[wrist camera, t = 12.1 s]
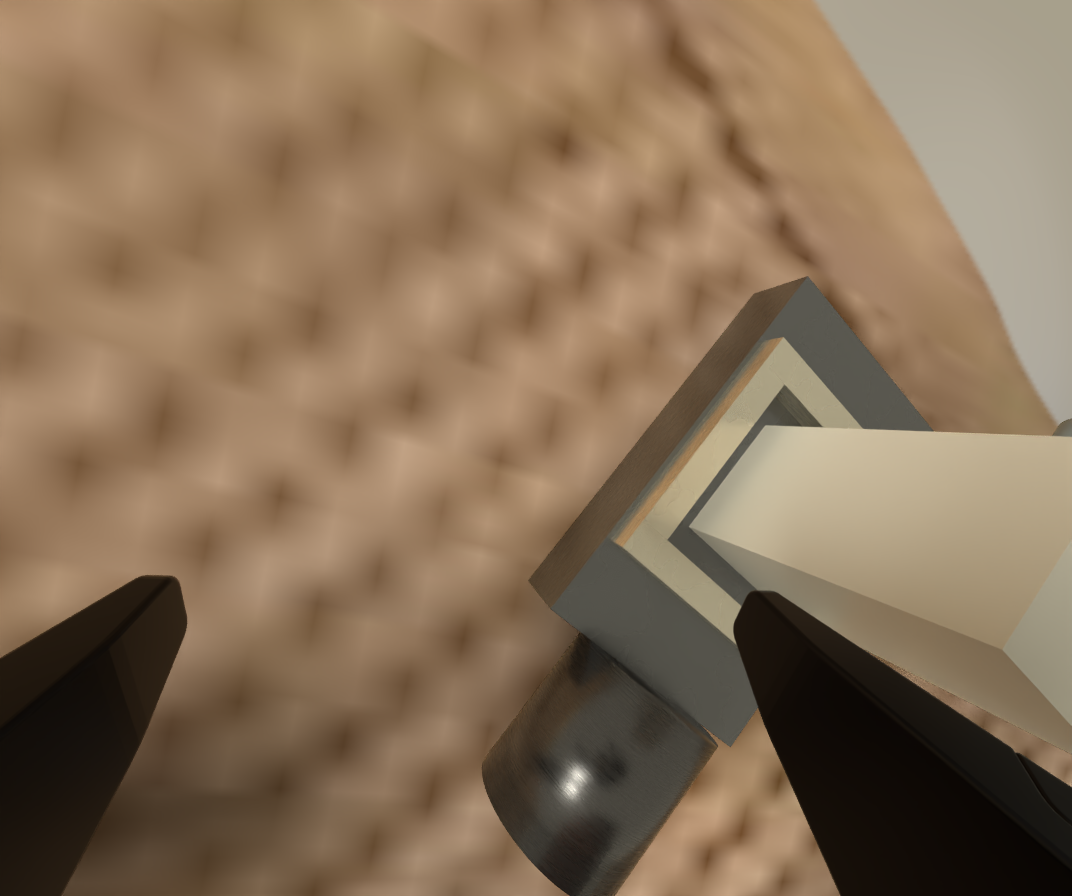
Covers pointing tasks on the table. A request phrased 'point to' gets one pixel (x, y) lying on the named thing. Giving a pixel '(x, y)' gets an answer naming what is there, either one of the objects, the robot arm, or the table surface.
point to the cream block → (919, 553)
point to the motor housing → (666, 598)
